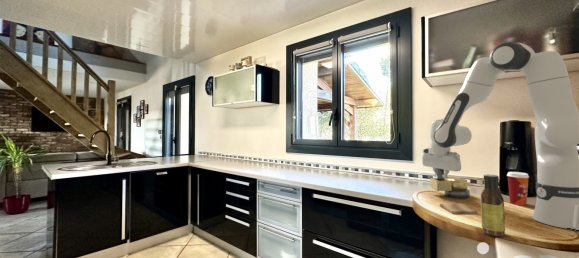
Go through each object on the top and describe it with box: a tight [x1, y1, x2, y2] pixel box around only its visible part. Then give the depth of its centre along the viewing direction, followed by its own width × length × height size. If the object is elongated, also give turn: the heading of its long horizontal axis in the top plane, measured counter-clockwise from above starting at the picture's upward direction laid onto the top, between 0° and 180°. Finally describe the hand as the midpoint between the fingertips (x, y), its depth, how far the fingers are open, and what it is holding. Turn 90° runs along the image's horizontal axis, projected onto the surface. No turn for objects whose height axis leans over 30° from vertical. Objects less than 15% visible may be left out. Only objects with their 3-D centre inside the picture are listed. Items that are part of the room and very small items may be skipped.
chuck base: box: [443, 188, 471, 199], centre depth 131 cm, size 11×11×3 cm
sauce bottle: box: [480, 173, 506, 237], centre depth 86 cm, size 7×6×20 cm
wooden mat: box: [439, 203, 478, 215], centre depth 110 cm, size 10×10×1 cm
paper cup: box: [506, 171, 530, 206], centre depth 116 cm, size 8×8×14 cm
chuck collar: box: [429, 177, 468, 192], centre depth 131 cm, size 16×9×5 cm, turn 86°
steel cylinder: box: [437, 168, 445, 180], centre depth 131 cm, size 3×3×10 cm
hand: (441, 177), depth 131 cm, fingers closed on steel cylinder, 3 cm apart
